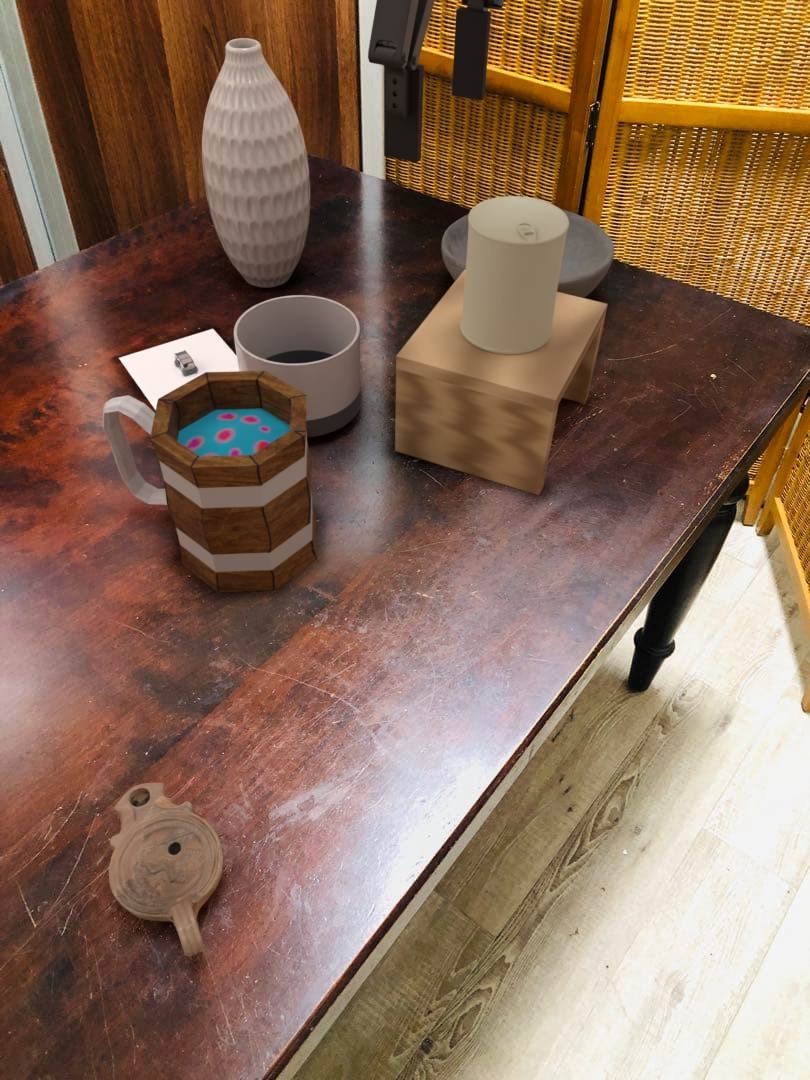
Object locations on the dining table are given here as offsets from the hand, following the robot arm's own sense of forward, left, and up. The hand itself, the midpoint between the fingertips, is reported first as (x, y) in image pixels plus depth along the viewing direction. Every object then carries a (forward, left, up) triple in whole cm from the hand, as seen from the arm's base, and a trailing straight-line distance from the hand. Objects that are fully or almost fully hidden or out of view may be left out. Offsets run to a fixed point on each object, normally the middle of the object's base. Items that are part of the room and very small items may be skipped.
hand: (437, 125), depth 71 cm
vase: (+32, -22, -33) cm, 51 cm away
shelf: (-6, -6, -33) cm, 34 cm away
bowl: (0, -32, -33) cm, 46 cm away
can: (-6, -6, -21) cm, 23 cm away
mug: (+12, +21, -33) cm, 41 cm away
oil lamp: (-3, +51, -33) cm, 61 cm away
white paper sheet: (+30, 0, -33) cm, 45 cm away
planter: (+14, +1, -33) cm, 36 cm away
